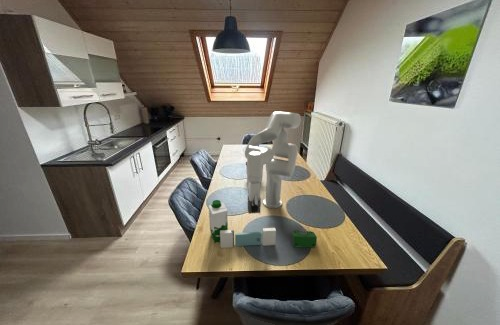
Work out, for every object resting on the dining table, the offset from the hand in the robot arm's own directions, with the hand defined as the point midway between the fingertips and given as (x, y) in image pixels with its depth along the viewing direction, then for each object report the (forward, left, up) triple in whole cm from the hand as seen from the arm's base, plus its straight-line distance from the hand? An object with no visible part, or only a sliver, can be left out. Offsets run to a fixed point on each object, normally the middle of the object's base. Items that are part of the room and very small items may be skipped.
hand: (253, 208), depth 109 cm
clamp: (+9, +25, -16) cm, 31 cm away
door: (+10, -3, -15) cm, 18 cm away
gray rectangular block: (0, 0, -1) cm, 1 cm away
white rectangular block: (+9, -4, -15) cm, 18 cm away
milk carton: (+2, -18, -16) cm, 24 cm away
